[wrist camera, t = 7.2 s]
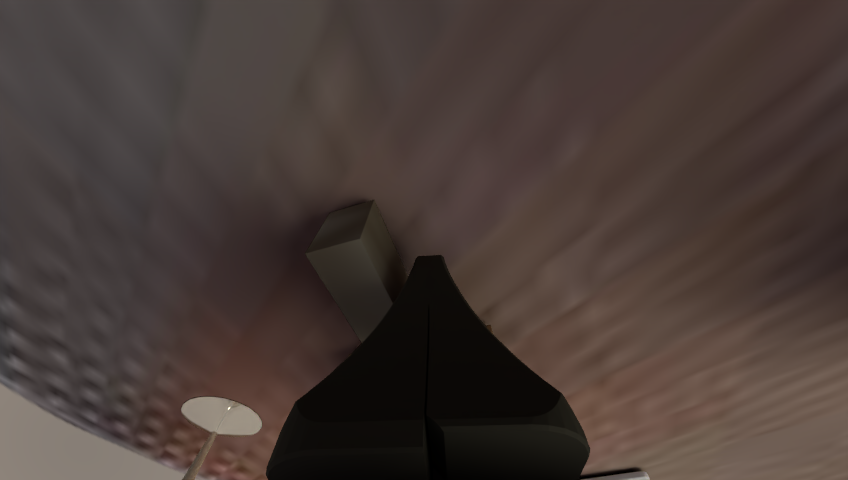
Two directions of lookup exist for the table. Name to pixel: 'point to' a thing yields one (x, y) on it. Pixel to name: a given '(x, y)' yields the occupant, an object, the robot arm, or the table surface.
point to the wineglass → (218, 423)
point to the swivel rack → (359, 265)
